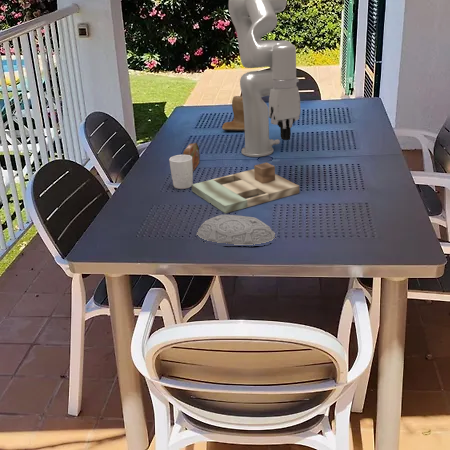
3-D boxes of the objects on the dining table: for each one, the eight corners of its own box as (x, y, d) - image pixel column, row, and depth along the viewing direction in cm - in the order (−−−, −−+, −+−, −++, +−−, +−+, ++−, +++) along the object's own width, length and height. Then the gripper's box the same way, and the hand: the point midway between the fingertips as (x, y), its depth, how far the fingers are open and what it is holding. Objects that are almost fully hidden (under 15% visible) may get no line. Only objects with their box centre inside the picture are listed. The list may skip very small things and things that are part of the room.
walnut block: (267, 176, 206) (266, 162, 204) (275, 180, 202) (274, 166, 200) (254, 179, 204) (254, 165, 202) (262, 183, 200) (262, 169, 198)
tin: (191, 174, 219) (189, 152, 216) (182, 174, 220) (180, 152, 216) (200, 161, 233) (199, 140, 229) (193, 161, 233) (191, 140, 230)
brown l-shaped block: (259, 125, 274) (258, 92, 268) (255, 133, 263) (254, 99, 257) (226, 125, 277) (225, 93, 271) (222, 133, 266) (220, 99, 260)
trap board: (261, 173, 216) (261, 167, 215) (299, 192, 197) (299, 185, 196) (192, 191, 204) (191, 184, 203) (225, 213, 185) (224, 206, 184)
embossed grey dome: (204, 219, 182) (203, 199, 178) (285, 231, 174) (285, 210, 171) (185, 246, 169) (183, 226, 166) (270, 260, 162) (270, 239, 158)
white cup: (177, 191, 205) (174, 163, 201) (168, 184, 211) (165, 157, 207) (198, 186, 208) (195, 159, 204) (188, 179, 214) (186, 153, 210)
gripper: (296, 79, 200) (297, 133, 207) (258, 85, 193) (260, 141, 201) (310, 82, 194) (310, 137, 201) (271, 88, 187) (273, 145, 194)
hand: (285, 139), depth 201 cm, fingers closed
